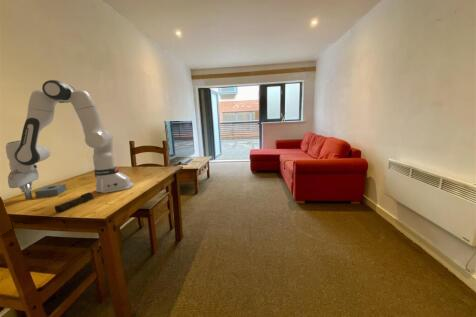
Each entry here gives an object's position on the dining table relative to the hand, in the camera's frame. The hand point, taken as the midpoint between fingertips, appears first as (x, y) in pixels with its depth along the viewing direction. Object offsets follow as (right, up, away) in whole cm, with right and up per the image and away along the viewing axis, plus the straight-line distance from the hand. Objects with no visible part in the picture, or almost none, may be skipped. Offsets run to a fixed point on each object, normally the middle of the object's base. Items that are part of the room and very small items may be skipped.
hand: (27, 190), depth 123 cm
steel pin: (0, -5, +1) cm, 5 cm away
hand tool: (+38, -6, -11) cm, 41 cm away
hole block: (+7, -3, +9) cm, 12 cm away
